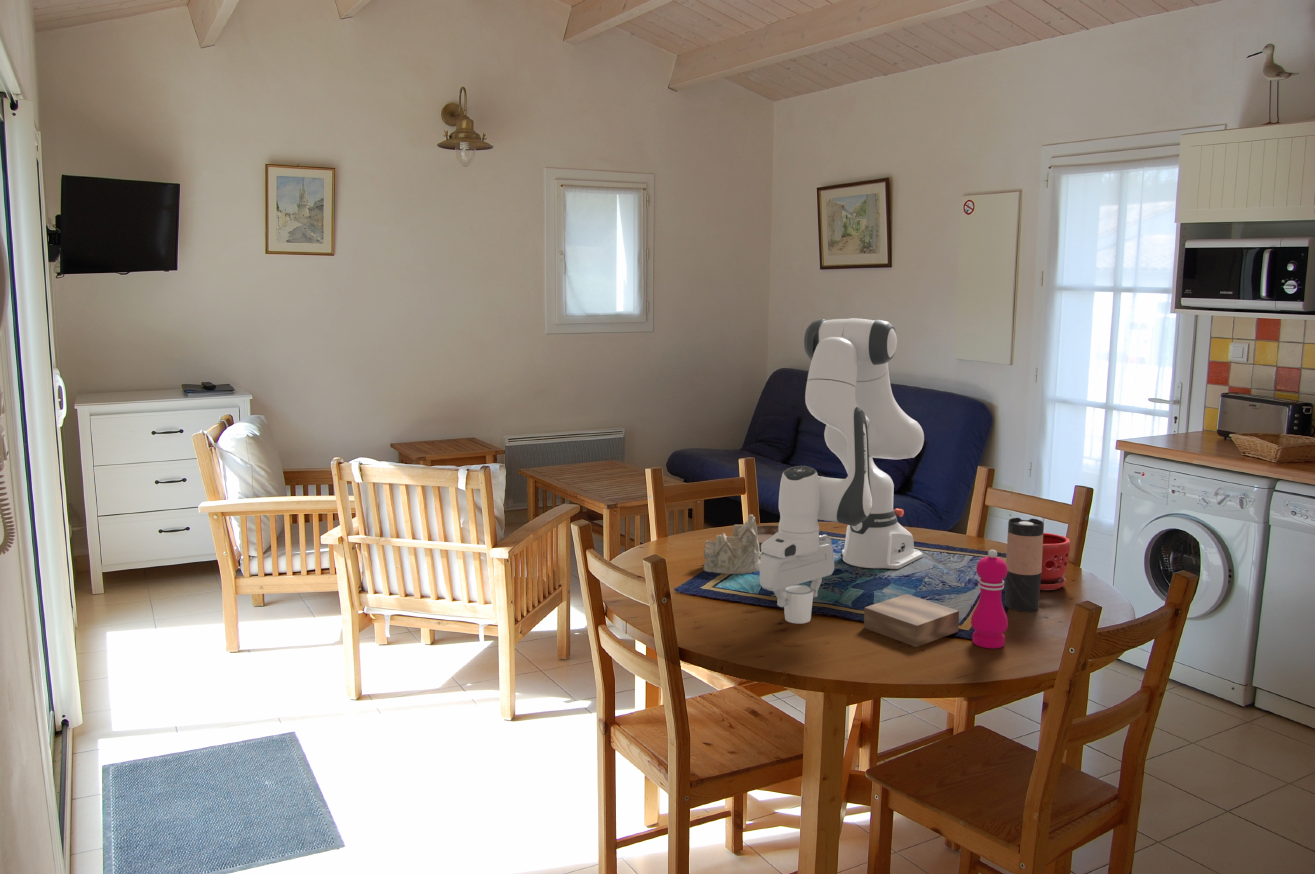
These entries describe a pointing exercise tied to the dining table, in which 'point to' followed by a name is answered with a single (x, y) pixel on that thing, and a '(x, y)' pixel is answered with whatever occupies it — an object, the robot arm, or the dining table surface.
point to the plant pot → (1054, 561)
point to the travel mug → (1023, 564)
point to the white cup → (798, 603)
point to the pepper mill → (990, 603)
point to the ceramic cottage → (734, 551)
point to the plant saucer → (765, 533)
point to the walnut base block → (911, 620)
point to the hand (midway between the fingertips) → (797, 601)
